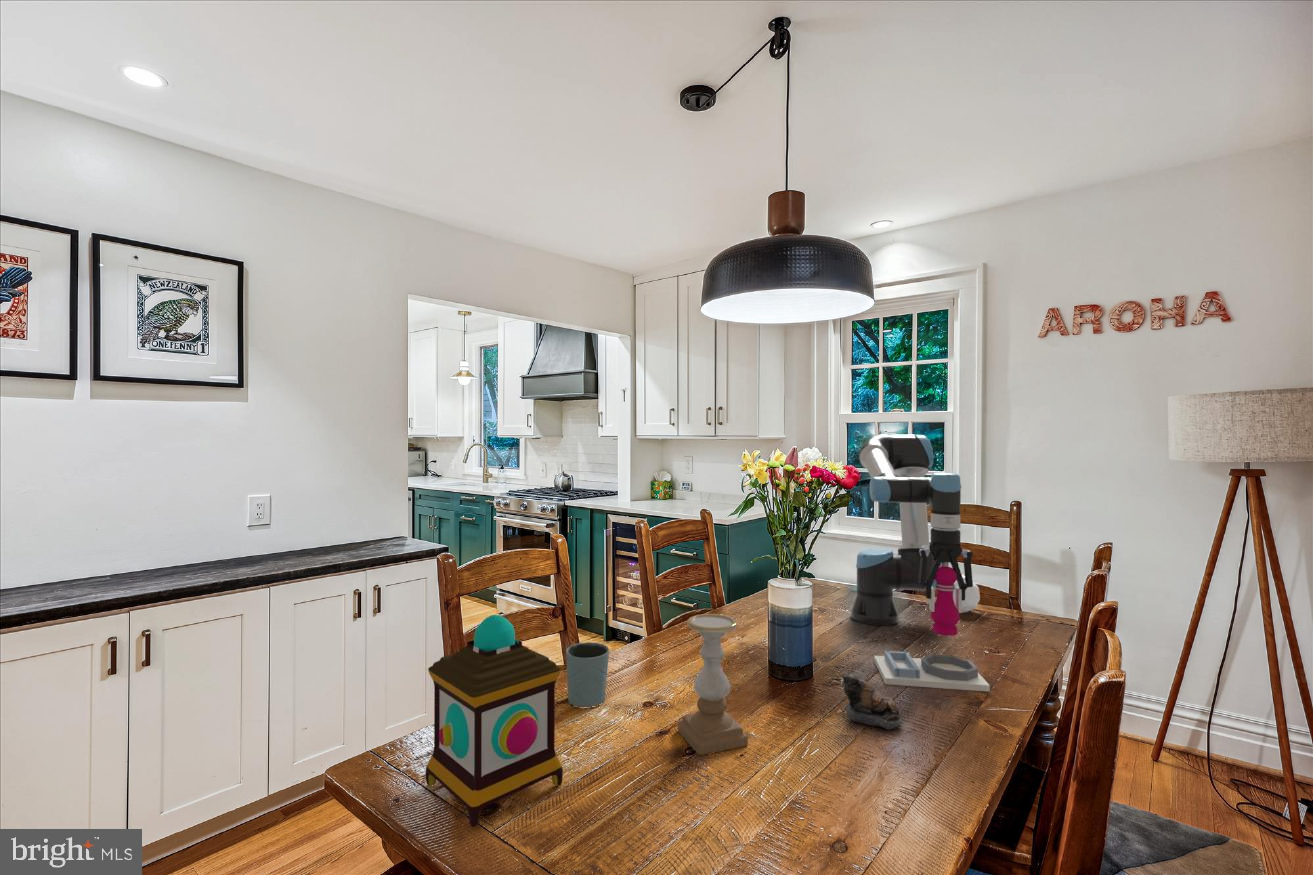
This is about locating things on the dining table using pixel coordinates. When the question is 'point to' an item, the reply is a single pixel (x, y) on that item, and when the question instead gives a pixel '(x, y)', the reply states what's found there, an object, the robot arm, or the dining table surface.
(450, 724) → the decorative lantern
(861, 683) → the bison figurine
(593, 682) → the blue grey cup
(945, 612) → the pepper mill
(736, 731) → the candle holder
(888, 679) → the holder board
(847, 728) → the dining table surface
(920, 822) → the dining table surface
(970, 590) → the geodesic sphere
